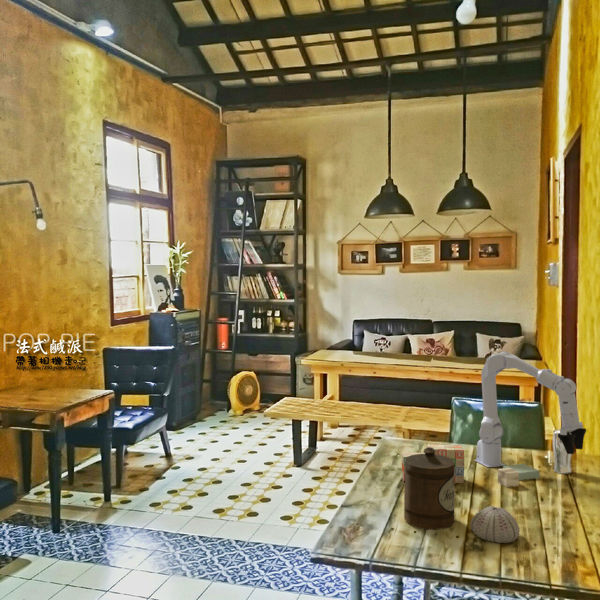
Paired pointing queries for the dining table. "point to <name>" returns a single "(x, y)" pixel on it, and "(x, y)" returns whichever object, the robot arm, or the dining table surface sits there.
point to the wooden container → (429, 490)
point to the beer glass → (560, 455)
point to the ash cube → (508, 477)
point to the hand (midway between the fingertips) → (574, 451)
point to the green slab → (524, 471)
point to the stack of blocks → (449, 451)
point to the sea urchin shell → (495, 525)
